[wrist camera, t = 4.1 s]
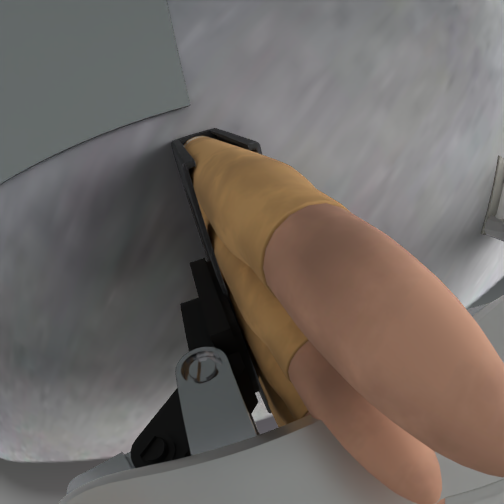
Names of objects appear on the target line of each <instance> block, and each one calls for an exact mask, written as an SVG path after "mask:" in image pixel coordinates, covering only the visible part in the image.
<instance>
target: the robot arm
mask: <svg viewBox="0 0 504 504" xmlns="http://www.w3.org/2000/svg"><path fill="white" fill-rule="evenodd" d="M190 265H191V269H192V273H193V277H194V281H195V285H196V288H197V292H198V296H199V298H196V299H193V300H190V301H187V302H184V303H181V311H182V317H183V322H184V328H185V333H186V338H187V343H188V348H189V352H188V353H187V354H186V355H184V356H183V357H182V358H181V360H180V361H179V362H178V364H177V367H176V380H177V386H178V388H177V389H176V390H175V392H174V393H173V394H172V395H171V397H170V398H169V399H168V400H167V402H166V403H165V404H164V405H163V407H162V408H161V409H160V410H159V412H158V413H157V414H156V415H155V416H154V418H153V419H152V420H151V421H150V423H149V424H148V425H147V426H146V428H145V429H144V430H143V431H142V432H141V434H140V435H139V436H138V437H137V439H136V440H135V442H134V443H133V445H132V448H131V452H129V453H127V454H124V453H123V452H121V453H120V454H118V455H116V456H114V457H113V458H111V459H109V460H107V461H105V462H104V463H102V464H100V465H98V466H96V467H95V468H92V469H90V470H88V471H87V472H85V473H83V474H81V475H79V476H77V477H75V478H74V479H73V480H72V481H71V482H70V484H69V485H68V488H67V495H66V496H65V497H64V498H63V499H62V500H61V501H60V502H59V503H58V504H417V503H414V502H412V501H410V500H408V499H406V498H404V497H402V496H400V495H398V494H396V493H395V492H393V491H392V490H390V489H389V488H388V487H386V486H385V485H384V484H383V483H381V482H380V481H379V480H378V479H376V478H375V477H374V476H373V475H372V474H370V473H369V472H368V471H367V470H366V469H365V468H364V467H363V466H362V465H361V464H360V463H359V462H358V461H356V460H355V458H354V457H353V456H352V455H351V454H350V453H349V452H348V451H347V450H346V449H345V448H344V447H343V446H342V445H341V443H340V442H339V441H338V440H337V439H336V437H335V436H334V435H333V434H332V433H331V431H330V430H329V429H328V428H327V427H326V425H325V424H324V423H323V422H322V420H317V419H315V418H313V417H312V416H311V414H310V415H308V416H305V417H303V418H301V419H298V420H296V421H294V422H291V423H289V424H286V425H284V426H281V427H279V428H276V429H274V430H271V431H269V432H266V433H263V434H259V432H258V429H257V426H256V424H255V422H254V419H253V417H252V414H251V413H252V412H253V410H254V408H255V407H256V405H257V403H258V400H257V397H256V395H255V392H258V391H260V388H259V385H258V382H257V379H256V376H255V373H254V370H253V367H252V364H251V361H250V358H249V355H248V352H247V349H246V346H245V343H244V340H243V337H242V334H241V331H240V328H239V326H238V323H237V320H236V318H235V316H234V313H233V311H232V309H231V306H230V304H229V302H228V299H227V297H226V295H224V294H223V292H222V289H221V287H220V284H219V282H218V279H217V277H216V274H215V271H214V268H213V265H212V262H211V260H210V261H207V262H205V259H204V258H203V259H200V260H197V261H194V262H191V263H190ZM466 310H467V311H468V312H469V313H470V314H471V316H472V317H473V318H474V319H475V321H476V322H477V323H478V325H479V326H480V328H481V329H482V331H483V332H484V334H485V335H486V337H487V338H488V340H489V341H490V343H491V344H492V346H493V347H494V349H495V350H496V352H497V354H498V355H499V357H500V358H501V360H502V362H503V363H504V295H503V296H501V297H500V298H498V299H497V300H495V301H493V302H491V303H488V304H484V305H481V306H477V307H473V308H470V309H466ZM434 452H435V451H434ZM435 454H436V457H437V459H438V462H439V465H440V471H441V478H442V492H441V496H440V499H439V500H438V501H440V500H441V499H444V498H445V504H504V477H497V476H492V475H488V474H485V473H482V472H479V471H476V470H473V469H470V468H468V467H465V466H462V465H460V464H458V463H456V462H454V461H452V460H450V459H448V458H446V457H444V456H442V455H441V454H439V453H437V452H435Z"/></svg>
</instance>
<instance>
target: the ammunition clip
mask: <svg viewBox="0 0 504 504" xmlns="http://www.w3.org/2000/svg"><path fill="white" fill-rule="evenodd" d="M172 149H173V152H174V155H175V159H176V162H177V165H178V169H179V172H180V175H181V178H182V182H183V185H184V188H185V191H186V194H187V198H188V201H189V204H190V207H191V210H192V213H193V216H194V219H195V222H196V225H197V228H198V231H199V234H200V237H201V240H202V243H203V246H204V249H205V252H206V255H207V258H208V261H210V260H211V262H212V265H213V268H214V271H215V274H216V277H217V279H218V282H219V284H220V287H221V289H222V292H223V294H224V295H226V297H227V299H228V302H229V304H230V306H231V309H232V311H233V313H234V316H235V318H236V320H237V323H238V326H239V328H240V331H241V334H242V337H243V340H244V343H245V346H246V349H247V352H248V355H249V358H250V361H251V364H252V367H253V370H254V373H255V376H256V379H257V382H258V385H259V388H260V391H259V393H260V395H261V397H262V399H263V402H264V404H265V406H266V408H267V411H268V412H269V413H272V414H273V416H274V418H275V420H276V423H277V424H278V427H281V426H284V425H286V424H289V423H291V422H294V421H296V420H298V419H301V418H303V417H305V416H308V415H310V414H311V416H312V417H313V418H315V419H317V420H322V422H323V423H324V424H325V425H326V427H327V428H328V429H329V430H330V431H331V433H332V434H333V435H334V436H335V437H336V439H337V440H338V441H339V442H340V443H341V445H342V446H343V447H344V448H345V449H346V450H347V451H348V452H349V453H350V454H351V455H352V456H353V457H354V458H355V460H356V461H358V462H359V463H360V464H361V465H362V466H363V467H364V468H365V469H366V470H367V471H368V472H369V473H370V474H372V475H373V476H374V477H375V478H376V479H378V480H379V481H380V482H381V483H383V484H384V485H385V486H386V487H388V488H389V489H390V490H392V491H393V492H395V493H396V494H398V495H400V496H402V497H404V498H406V499H408V500H410V501H412V502H414V503H417V504H445V498H444V499H441V500H440V501H438V500H439V499H440V496H441V492H442V478H441V471H440V465H439V462H438V459H437V457H436V454H435V452H437V453H439V454H441V455H442V456H444V457H446V458H448V459H450V460H452V461H454V462H456V463H458V464H460V465H462V466H465V467H468V468H470V469H473V470H476V471H479V472H482V473H485V474H488V475H492V476H497V477H504V363H503V362H502V360H501V358H500V357H499V355H498V354H497V352H496V350H495V349H494V347H493V346H492V344H491V343H490V341H489V340H488V338H487V337H486V335H485V334H484V332H483V331H482V329H481V328H480V326H479V325H478V323H477V322H476V321H475V319H474V318H473V317H472V316H471V314H470V313H469V312H468V311H467V310H466V308H465V307H464V306H463V305H462V303H461V302H460V301H459V300H458V299H457V298H456V297H455V295H454V294H453V293H452V292H451V291H450V290H449V289H448V288H447V287H446V286H445V285H444V284H443V283H442V281H441V280H440V279H439V278H438V277H436V276H435V275H434V274H433V273H432V272H431V271H430V270H429V269H428V268H426V267H425V266H424V265H423V264H422V263H421V262H420V261H418V260H417V259H416V258H415V257H414V256H413V255H411V254H410V253H409V252H408V251H407V250H406V249H404V248H403V247H402V246H401V245H399V244H398V243H397V242H396V241H394V240H393V239H392V238H390V237H389V236H388V235H386V234H385V233H383V232H382V231H380V230H378V229H377V228H375V227H374V226H372V225H370V224H369V223H367V222H365V221H364V220H362V219H360V218H359V217H357V216H355V215H354V214H352V213H351V212H350V211H349V210H347V209H346V208H345V207H344V206H343V205H342V204H340V203H339V202H337V201H335V200H334V199H332V198H331V197H329V196H327V195H326V194H324V193H322V192H320V191H319V190H317V189H316V188H315V187H314V186H313V185H312V184H311V183H310V182H309V181H308V180H307V179H306V178H305V177H304V176H302V175H301V174H300V173H299V172H297V171H296V170H295V169H294V168H292V167H291V166H289V165H287V164H285V163H283V162H280V161H277V160H275V159H272V158H269V157H267V156H264V155H262V152H261V147H260V144H259V143H258V142H256V141H253V140H250V139H247V138H244V137H241V136H238V135H235V134H232V133H229V132H226V131H223V130H219V129H216V128H213V129H210V130H206V131H203V132H199V133H196V134H193V135H190V136H186V137H183V138H180V139H177V140H174V141H173V142H172ZM434 451H435V452H434Z"/></svg>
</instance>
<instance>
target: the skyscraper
mask: <svg viewBox="0 0 504 504" xmlns="http://www.w3.org/2000/svg"><path fill="white" fill-rule="evenodd" d="M481 234H483V235H489V236H491V237H494V238H496V239H499V240H501V241H504V158H502V157H501V156H498V162H497V168H496V174H495V179H494V184H493V189H492V193H491V198H490V202H489V206H488V210H487V214H486V218H485V221H484V225H483V228H482V232H481Z"/></svg>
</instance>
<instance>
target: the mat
mask: <svg viewBox="0 0 504 504" xmlns="http://www.w3.org/2000/svg"><path fill="white" fill-rule="evenodd" d="M187 106H190V101H189V97H188V93H187V89H186V84H185V80H184V76H183V71H182V67H181V63H180V58H179V54H178V50H177V45H176V41H175V36H174V32H173V27H172V23H171V18H170V13H169V9H168V4H167V0H0V184H1V183H3V182H5V181H7V180H8V179H10V178H12V177H13V176H15V175H17V174H19V173H21V172H22V171H24V170H26V169H28V168H30V167H32V166H34V165H36V164H37V163H39V162H41V161H43V160H45V159H47V158H49V157H51V156H54V155H56V154H58V153H60V152H62V151H64V150H66V149H69V148H71V147H73V146H75V145H78V144H80V143H82V142H85V141H87V140H89V139H92V138H94V137H97V136H99V135H102V134H104V133H107V132H109V131H112V130H115V129H117V128H120V127H123V126H126V125H129V124H131V123H134V122H137V121H140V120H143V119H146V118H150V117H153V116H156V115H159V114H162V113H166V112H169V111H173V110H176V109H180V108H184V107H187Z"/></svg>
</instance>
